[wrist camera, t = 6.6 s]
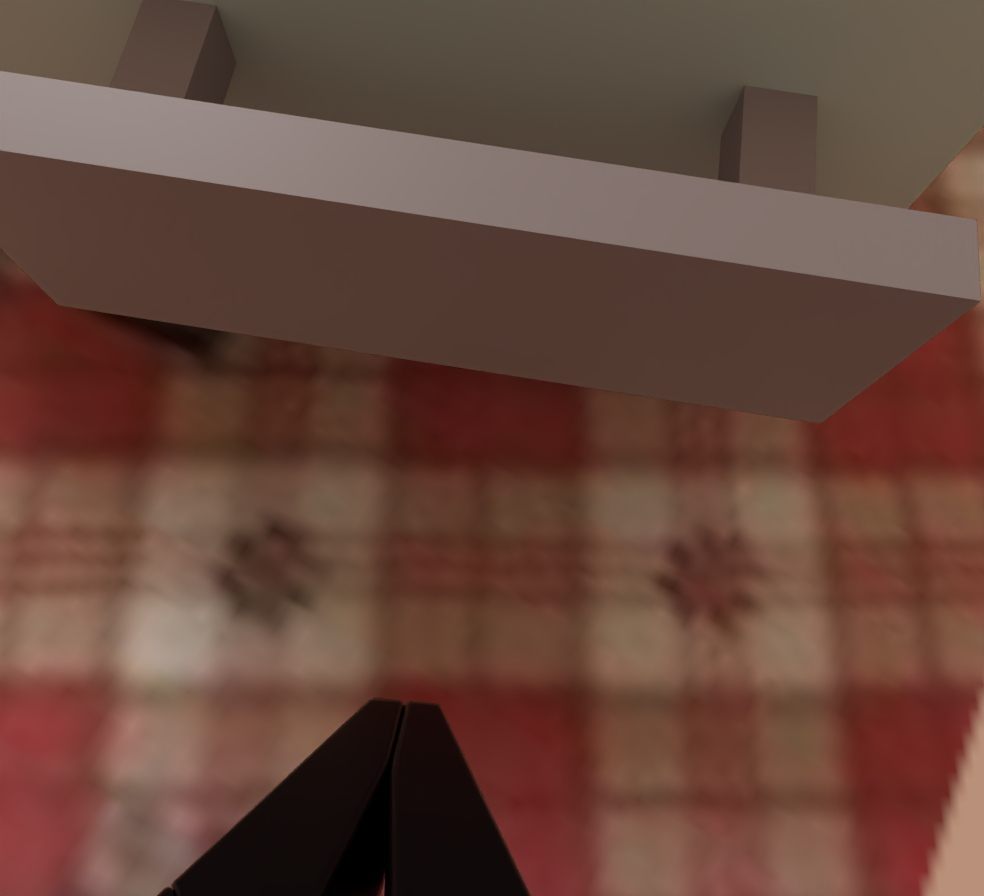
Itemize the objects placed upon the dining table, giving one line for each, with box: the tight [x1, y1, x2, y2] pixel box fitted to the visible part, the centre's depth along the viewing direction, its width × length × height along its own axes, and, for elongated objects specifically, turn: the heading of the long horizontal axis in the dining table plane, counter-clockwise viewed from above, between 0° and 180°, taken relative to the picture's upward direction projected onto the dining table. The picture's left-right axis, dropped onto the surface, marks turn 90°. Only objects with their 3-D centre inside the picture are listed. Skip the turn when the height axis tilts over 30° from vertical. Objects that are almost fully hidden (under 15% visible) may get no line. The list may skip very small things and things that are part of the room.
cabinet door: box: [0, 0, 984, 424], centre depth 14 cm, size 6×23×9 cm, turn 81°
